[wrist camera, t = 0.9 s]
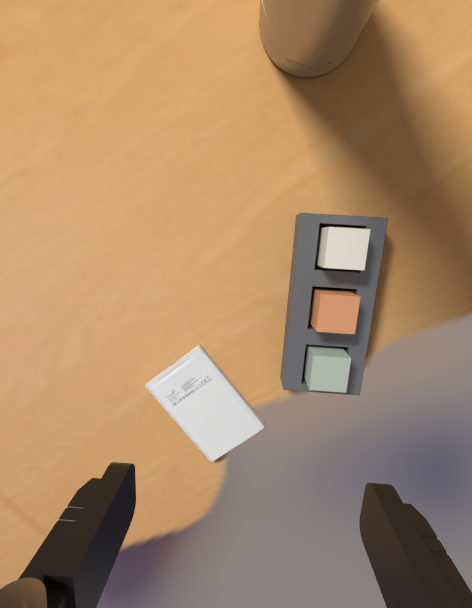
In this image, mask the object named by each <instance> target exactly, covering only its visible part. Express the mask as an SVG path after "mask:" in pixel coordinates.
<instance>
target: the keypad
mask: <svg viewBox="0 0 472 608" xmlns="http://www.w3.org/2000/svg"><path fill="white" fill-rule="evenodd" d="M387 221H388V218H380V217H362V216H345V215H328V214H311V213H300V214H298V215H296V224H295V234H294V244H293V254H292V265H291V275H290V285H289V295H288V306H287V316H286V326H285V336H284V346H283V357H282V367H281V381H282V386H283V390H295V391H309V392H322V393H336V394H349V395H360V389H361V384H362V377H363V371H364V365H365V359H366V352H367V346H368V340H369V334H370V327H371V321H372V315H373V309H374V302H375V296H376V290H377V284H378V277H379V271H380V265H381V259H382V252H383V246H384V240H385V234H386V227H387ZM319 225H330V226H347V227H356V228H359V229H371V230H370V236H369V243H368V250H367V257H366V263H365V270H346V269H330V268H315V260H316V251H317V242H318V233H319ZM312 286H317V287H332V288H347V290H348V291H350V292H352V293H354V294H356V295H358V296H360V303H359V310H358V317H357V324H356V330H355V334H343V333H328V332H316V331H315V329H314V328H313V326H312V325H311V324H310V322H308V321H309V312H310V303H311V295H312ZM306 344H309V345H323V346H337V347H342V348H343V349H344V350H345V352H346V353H347V354H348V355H349V356H350V357H351V364H350V370H349V377H348V384H347V390H346V393H343V392H329V391H316V390H309V388H308V386H307V383H306V381H305V378H304V376H303V365H304V356H305V347H306Z"/></svg>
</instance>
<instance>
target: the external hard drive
mask: <svg viewBox="0 0 472 608" xmlns="http://www.w3.org/2000/svg"><path fill="white" fill-rule="evenodd" d="M145 386H146V388H147V389H148V390H149V391H150V392H151V393H152V394H153V396H154V397H155V398H156V399H157V400H158V401H159V403H160V404H161V405H162V406H163V407H164V408H165V410H166V411H167V412H168V413H169V414H170V415H171V417H172V418H173V419H174V420H175V421H176V422H177V424H178V425H179V426H180V427H181V428H182V429H183V430H184V432H185V433H186V434H187V435H188V436H189V437H190V438H191V440H192V441H193V442H194V443H195V444H196V445H197V447H198V448H199V449H200V450H201V451H202V452H203V453H204V455H205V456H206V457H207V458H208V459H209V460H210V461H211V462H212V461H215V460H216V459H218V458H219V457H221V456H222V455H224V454H226V453H227V452H228V451H230V450H232V449H233V448H235V447H236V446H238V445H239V444H241V443H243V442H244V441H246V440H247V439H249V438H251V437H252V436H254V435H255V434H257V433H258V432H260V431H261V430H262V429H264V427H265V423H264V421H263V419H262V418H261V417H260V416H259V415H258V413H257V412H256V411H255V410H254V408H252V407H251V405H250V404H249V403H248V402H247V401H246V399H245V398H244V397H243V396H242V394H241V393H240V392H239V391H238V390H237V388H236V387H235V386H234V385H233V384H232V382H231V381H230V380H229V379H228V377H227V376H226V375H225V374H224V373H223V371H222V370H221V369H220V368H219V367H218V365H217V364H216V363H215V362H214V360H213V359H212V358H211V357H210V356H209V354H208V353H207V352H206V351H205V349H204V348H203V347H202V346H201V345H198V346H197V347H196V348H194V349H193V350H191V351H190V352H189V353H187V354H186V355H185V356H183V357H182V358H181V359H179V360H178V361H177V362H176V363H175V364H173V365H172V366H170V367H169V368H167V369H166V370H164V371H163V372H161V373H160V374H159V375H157V376H156V377H155V378H153V379H152V380H150V381H149V382H148V383H147V384H146V385H145Z"/></svg>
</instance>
